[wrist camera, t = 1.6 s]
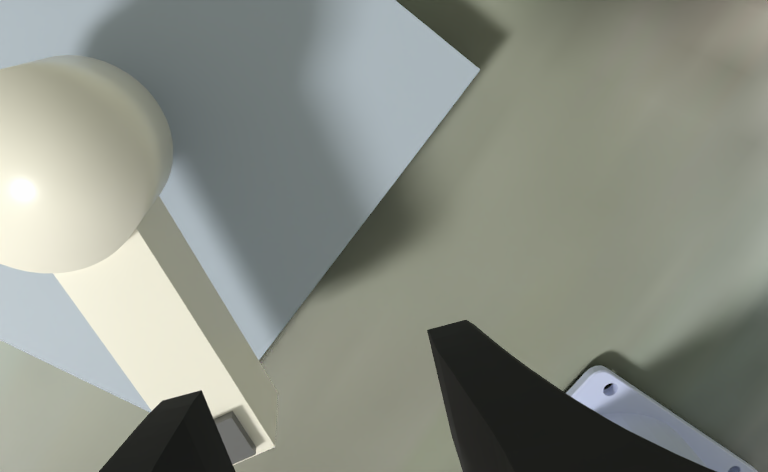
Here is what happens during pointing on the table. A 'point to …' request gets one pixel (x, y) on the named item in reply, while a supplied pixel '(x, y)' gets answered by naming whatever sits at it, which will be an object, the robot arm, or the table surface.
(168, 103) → the board
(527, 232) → the table surface
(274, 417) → the cream knobbed bar
